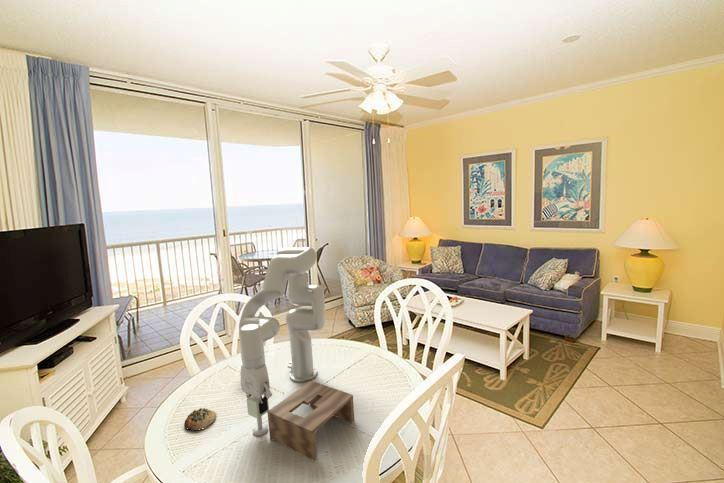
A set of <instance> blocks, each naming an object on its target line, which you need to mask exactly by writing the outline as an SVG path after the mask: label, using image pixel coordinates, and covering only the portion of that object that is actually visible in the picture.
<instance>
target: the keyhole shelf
mask: <svg viewBox="0 0 724 483" xmlns="http://www.w3.org/2000/svg"><path fill="white" fill-rule="evenodd" d="M303 404H304V405H306V406H309V405H310V406H309V407H311V408H314V409H313V410H312V411H311V412H310V413H309V414H307V415H306V416H305V417H302V416H300V415H297V414H295V413H293V412H294V411H295V410H297V409H298V408H299V407H300V406H302V405H303ZM354 407H355V406H354V395H353V394H352V393H348V392H345V391H343V390H339V389H337V388H334V387H331V386H328V385H325V384H322V383H320V382H316V381H314V380H309V381H307V383H305V384H304V385H303V386H301V387H300V388H299V389H297V390H296V391H294V392H293V393H291V394H290V395H288V396H287V397H285V399H283V400H282V401H280V402H278V403H277V404H276V405H274V406H273V407H271V408H269V411H267V413H266V414H267V423H268V433H269V439H271V440H272V441H275V442H276V443H278V444H279V445H280V444H281V445H282V446H284V447H286V448H288V449H290V450H292V451H294V452H296V453H298V454H300V455H301V456H304V457H305V458H308V459H310V460H312V461H313V462H314V461H315V460H317V458H318V449H317V437H316V435H317V433H316V431H318V430H319V429H320V428H321V427H322V426H323V425H324V424H325V423H327V421H328V420H330V419H331V418H332V417H336V418H339V419H342V420H344V421H346V422H348V423H353V422H354V421H355V408H354Z"/></svg>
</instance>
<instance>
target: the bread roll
mask: <svg viewBox="0 0 724 483" xmlns="http://www.w3.org/2000/svg"><path fill="white" fill-rule="evenodd" d="M216 417H217V413H216V412H215V411H214V410H211V409H208V408H203V407H202V408H199V409H196V410H195V409H194V410H193V411H192V412H190V414H188V415H187V417H186V419H185V420H184V423H183V424H184V428H185V427H186V428H188V429H191V431H193V430H199V429H202V428H205V427H207V426H208V427H209V425H210V424H211V423H212V422H213V421H215V420H216ZM213 423H214V422H213ZM213 423H212V424H213ZM212 424H211V425H212ZM211 425H210V426H211ZM208 427H207V428H208ZM186 428H185V429H186ZM188 429H187V430H188Z"/></svg>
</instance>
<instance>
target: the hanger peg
mask: <svg viewBox="0 0 724 483" xmlns="http://www.w3.org/2000/svg"><path fill="white" fill-rule="evenodd" d="M263 397H264V394H263V395H262V398H263ZM259 403H260V401H259V397H256V396H253V395H251V396H250V397H248V398H247V397H246V407H247V415H248V416H251V417H253V418H255V419H256V424H257V425H255V426H254V427H253V429H252V434H253V435H254V436H257V437H258V436H259V437H260V436H263V435H265V434H266V433H267V432H269V425H268V424H266V423H263V418H262V416H264V415H265V414H268V413H267V411H269V410H270V406H269V399H268V400H267V404H268V410H267V411H265V412H264V413H262V414H260V411H259Z"/></svg>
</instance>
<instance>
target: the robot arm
mask: <svg viewBox="0 0 724 483" xmlns="http://www.w3.org/2000/svg"><path fill="white" fill-rule="evenodd" d="M276 252H277V253H276V255H274V256H272V257H271V258H270V261H269V264H268V266H267V270H266V273H265V277H264V280H263V284H262V287H261V288H260V290H258V291H257V292H256V293H255V294H254V295H253V296H252V297H251V298H250V299H249V300H248V301H247V303H246V304H245V305H244V307H243V310H242V313H241V316H240V320H239V324H238V335H239V346H240V358H241V357H242V358H241V364H240V387H241V390H242V391H243V392H244V393H246V394H245V395H246V397H245V398H246V399H247V398H248V397H250V396H251V395H253V396H256V397H259V401H260V403H259V411H260V414H262V413H264V412H265V411H267V410H268V405H269V403H268V404H267V400H268V401H269V399H270V397H272V396H273V393H272V391H271V389H270V386H271V384H270V378H269V372H268V368H267V365H266V356H265V347H264V345H265V344H264V343H265V342H267V341H269V340H271V339H273V338H274V337H276V336H277V335H278V333H279V331H280V329H281V328H280V322H279V320H278V319H277V318H276V317H271V316H270V317H269V316H268V317H267V316H256V315H257V312H258V311H259V310H260V309H261V308H262V307H263V306H264V305H266V304H268V303H270V302H272V301H274V300H276V299H277V300H278V299H279V298H281V297H282V296H284V294H285V291H286V290H285V289H286V287H287V286H288V300H289V303H290V305H293V306H297V308H296V307H295V308H292V309H290V310H288V311H287V313H286V315H285V321H286V323H285V324H286V326H287V330H288V333H289V334H288V336H289V344H290V345H289V347H290V355H291V357H290V358H291V361H289V362H288V365H287V368H288V369H290V372H289V379H290V380H291V381H293V382H296V383H297V382H298V383H302V382H309V381H312V379H314V378H316V376H317V375H318V369H317V368H316V367H314V359H313V358H314V357H313V348H312V347H313V346H312V345H313V344H312V337H311V334H310V332H309V331H311V332H312V331H314V332H315V331H321V330H323V328H324V327H325V324H326V303H325V302H326V301H325V300H326V299H325V292H324V289H323V287H322V286H321V285H319V284H309V283H308V273H307V272H308V271H310V269H311V268H313V267H314V265H316V261H317V252H316V250H315V249H314V248H313V247H310V246H308V247H307V246H304V247H303V246H299V247H298V246H297V247H296V246H292V247H291V246H289V247H282V248H280V249H278V250H277V251H276ZM287 283H288V285H287ZM299 306H300V307H299ZM303 307H311V308H303ZM263 394H264V397H263V398H262V395H263Z"/></svg>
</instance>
